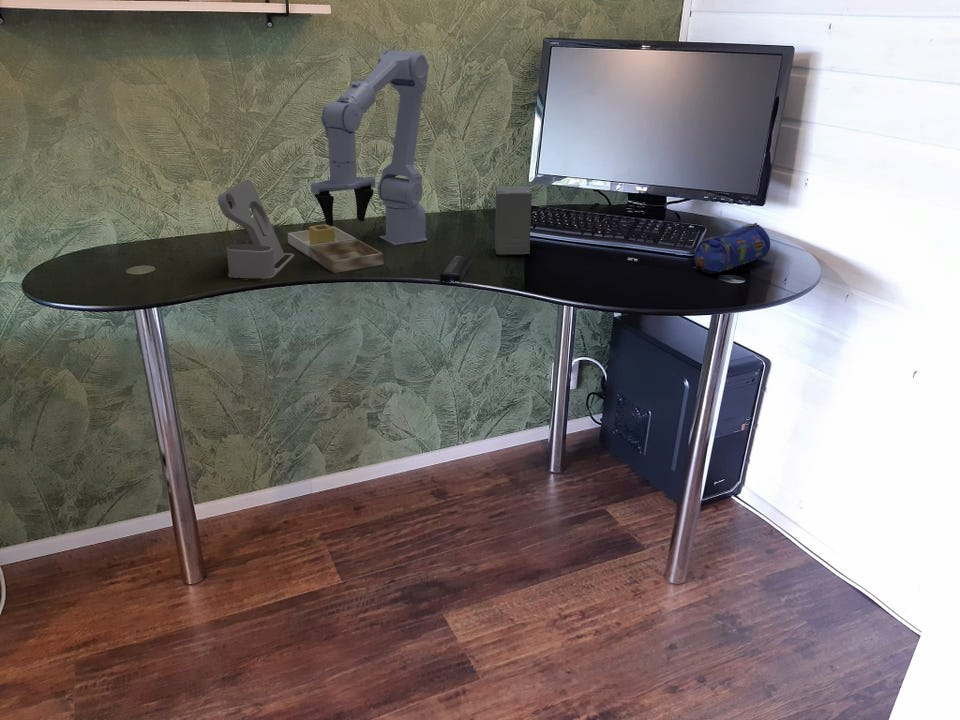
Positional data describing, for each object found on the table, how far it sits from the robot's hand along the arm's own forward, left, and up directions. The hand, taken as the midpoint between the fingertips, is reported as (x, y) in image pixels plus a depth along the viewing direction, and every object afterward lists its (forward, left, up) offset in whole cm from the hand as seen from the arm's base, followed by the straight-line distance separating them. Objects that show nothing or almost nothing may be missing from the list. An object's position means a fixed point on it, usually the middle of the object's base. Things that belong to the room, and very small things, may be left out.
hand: (345, 222), depth 172 cm
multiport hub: (-18, +18, -10) cm, 27 cm away
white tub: (0, -13, -9) cm, 16 cm away
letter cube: (0, -13, -9) cm, 16 cm away
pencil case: (-77, +47, -10) cm, 91 cm away
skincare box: (-37, +13, -10) cm, 41 cm away
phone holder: (+18, -7, -10) cm, 21 cm away
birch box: (0, 0, -9) cm, 9 cm away
